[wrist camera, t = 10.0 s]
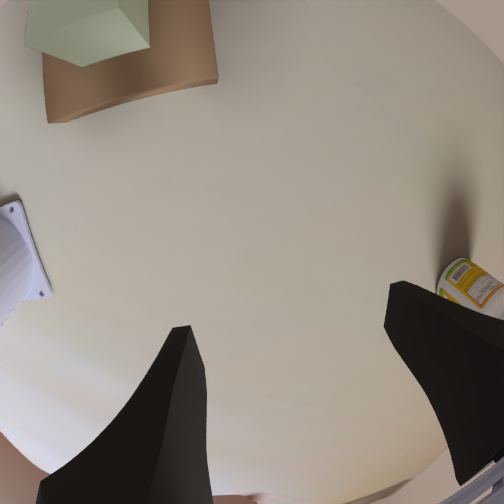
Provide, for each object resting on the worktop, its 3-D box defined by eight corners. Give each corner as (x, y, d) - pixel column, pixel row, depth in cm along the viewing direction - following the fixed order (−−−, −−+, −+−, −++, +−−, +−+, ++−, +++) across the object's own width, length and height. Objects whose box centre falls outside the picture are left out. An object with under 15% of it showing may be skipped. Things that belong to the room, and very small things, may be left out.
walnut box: (69, 122, 15) (47, 123, 12) (63, 2, 11) (45, -11, 8) (216, 84, 16) (218, 76, 13) (201, -37, 11) (201, -59, 9)
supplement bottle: (456, 302, 26) (510, 354, 17) (427, 302, 25) (486, 363, 16) (475, 258, 24) (538, 304, 15) (447, 253, 23) (518, 306, 14)
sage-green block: (81, 67, 11) (24, 45, 6) (82, -2, 9) (37, -41, 4) (150, 47, 12) (118, 7, 6) (147, -22, 9) (124, -76, 4)
